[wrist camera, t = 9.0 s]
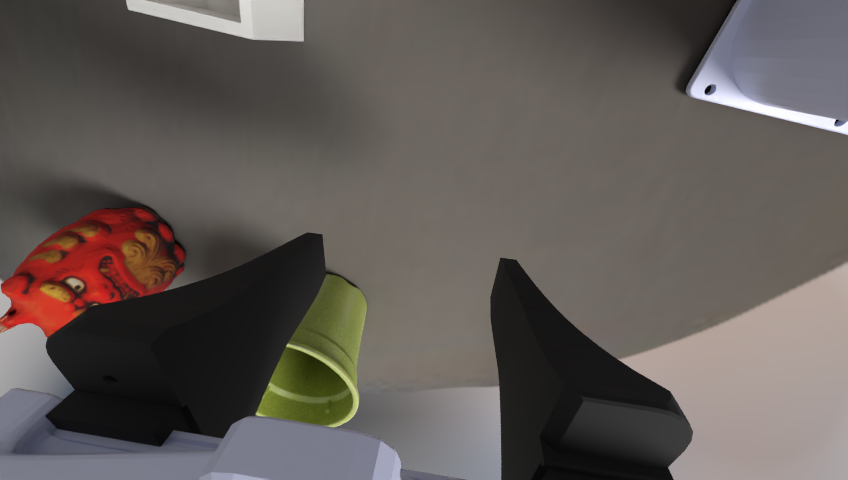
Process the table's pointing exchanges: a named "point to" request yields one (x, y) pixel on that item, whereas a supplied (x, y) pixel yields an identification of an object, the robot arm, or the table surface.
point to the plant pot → (320, 360)
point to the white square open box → (233, 16)
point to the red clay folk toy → (92, 267)
